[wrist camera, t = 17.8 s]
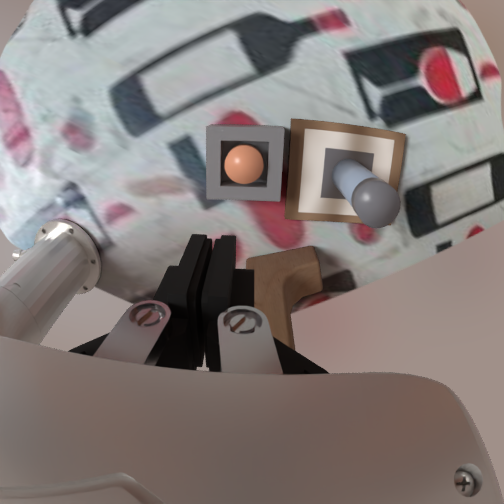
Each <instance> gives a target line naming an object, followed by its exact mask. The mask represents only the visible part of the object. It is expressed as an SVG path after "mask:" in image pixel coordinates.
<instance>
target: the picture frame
mask: <svg viewBox="0 0 504 504" xmlns="http://www.w3.org/2000/svg"><path fill="white" fill-rule="evenodd" d="M405 135H406V134H403V133H399V132H393V131H388V130H382V129H376V128H370V127H364V126H357V125H350V124H342V123H334V122H325V121H315V120H304V119H292V118H291V127H290V144H289V160H288V175H287V189H286V203H285V219H295V220H315V221H333V222H350V223H363V222H362V221H361V219H360V218H359V217H358V215H357V214H356V213H355V211H354V210H353V207H352V206H351V205H350V203H349V202H348V201H347V200H346V198H345V197H344V196H343V195H342V193H341V192H340V191H339V190H338V188H337V187H336V186H335V185H334V183H333V180H332V172H333V169H334V167H335V166H336V164H337V163H338V162H340V161H342V160H344V159H353V160H355V161H357V162H359V163H360V164H361V165H363V166H364V167H365V168H367V169H368V170H369V171H371V172H372V173H373V174H374V175H376V176H377V177H378V178H380V179H382V180H384V181H385V182H386V183H388V184H389V185H390V186H391V187H393V188H394V189H395V190H396V191H397V190H398V185H399V178H400V172H401V166H402V159H403V151H404V143H405ZM389 225H391V223H390V224H389Z"/></svg>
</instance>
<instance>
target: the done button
mask: <svg viewBox="0 0 504 504" xmlns="http://www.w3.org/2000/svg"><path fill="white" fill-rule="evenodd" d="M225 171H226V173H227V175H228V176H229V178H230V179H231V180H233V181H234V182H237V183H240V184H248V183H252V182H254V181H255V180H257V179H258V178H259V177H260V175H261V174H262V171H263V157H262V154H261V152H260V151H259V149H258V148H256V147H255V146H253V145H251V144H246V143H243V144H239V145H236V146H235V147H233V148H232V149H231V150H230V152H229V153H228V155H227V157H226V159H225Z"/></svg>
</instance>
